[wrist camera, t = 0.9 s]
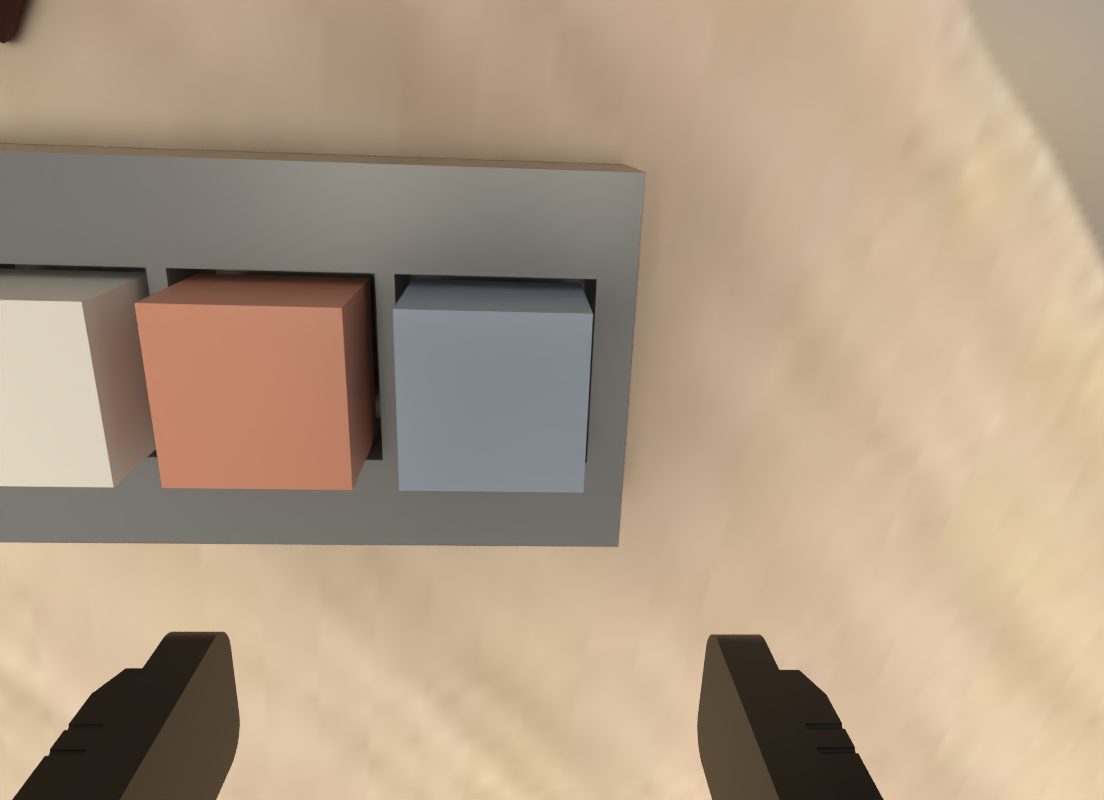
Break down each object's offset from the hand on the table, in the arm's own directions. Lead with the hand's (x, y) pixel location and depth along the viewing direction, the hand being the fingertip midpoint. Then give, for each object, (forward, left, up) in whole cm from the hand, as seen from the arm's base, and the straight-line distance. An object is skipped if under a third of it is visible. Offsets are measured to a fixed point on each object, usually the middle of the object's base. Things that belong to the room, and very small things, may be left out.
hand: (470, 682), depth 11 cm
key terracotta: (-7, 0, -16) cm, 18 cm away
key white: (-14, 0, -16) cm, 21 cm away
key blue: (0, 0, -16) cm, 16 cm away
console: (-7, 0, -20) cm, 21 cm away
